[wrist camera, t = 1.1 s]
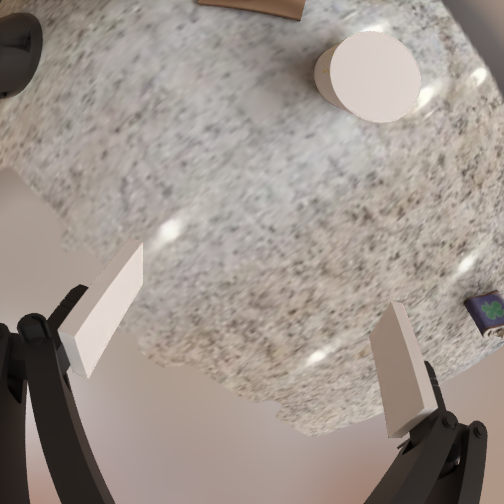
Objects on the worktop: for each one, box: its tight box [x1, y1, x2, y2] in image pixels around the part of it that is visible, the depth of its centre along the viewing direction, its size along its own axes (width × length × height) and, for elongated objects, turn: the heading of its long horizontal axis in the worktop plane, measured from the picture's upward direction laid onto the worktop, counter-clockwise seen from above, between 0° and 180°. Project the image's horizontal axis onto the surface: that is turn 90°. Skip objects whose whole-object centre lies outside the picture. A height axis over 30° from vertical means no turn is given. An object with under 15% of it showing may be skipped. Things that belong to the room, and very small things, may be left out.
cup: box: [314, 31, 421, 123], centre depth 25 cm, size 8×8×12 cm
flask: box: [464, 291, 504, 341], centre depth 41 cm, size 9×3×11 cm, turn 102°
